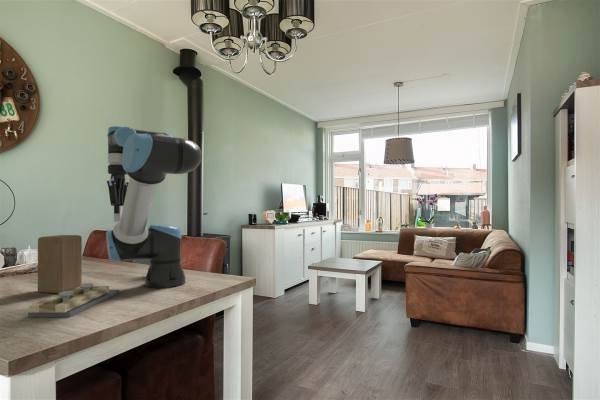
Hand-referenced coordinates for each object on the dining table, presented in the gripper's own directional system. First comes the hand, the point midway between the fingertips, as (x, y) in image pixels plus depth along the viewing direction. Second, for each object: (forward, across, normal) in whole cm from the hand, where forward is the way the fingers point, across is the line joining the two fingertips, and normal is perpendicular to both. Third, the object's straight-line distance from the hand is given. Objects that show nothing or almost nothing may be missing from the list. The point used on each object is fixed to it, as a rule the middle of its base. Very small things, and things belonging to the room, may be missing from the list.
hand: (118, 221), depth 144 cm
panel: (+23, +36, +5) cm, 43 cm away
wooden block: (+25, +16, -13) cm, 32 cm away
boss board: (+24, +33, +5) cm, 41 cm away
